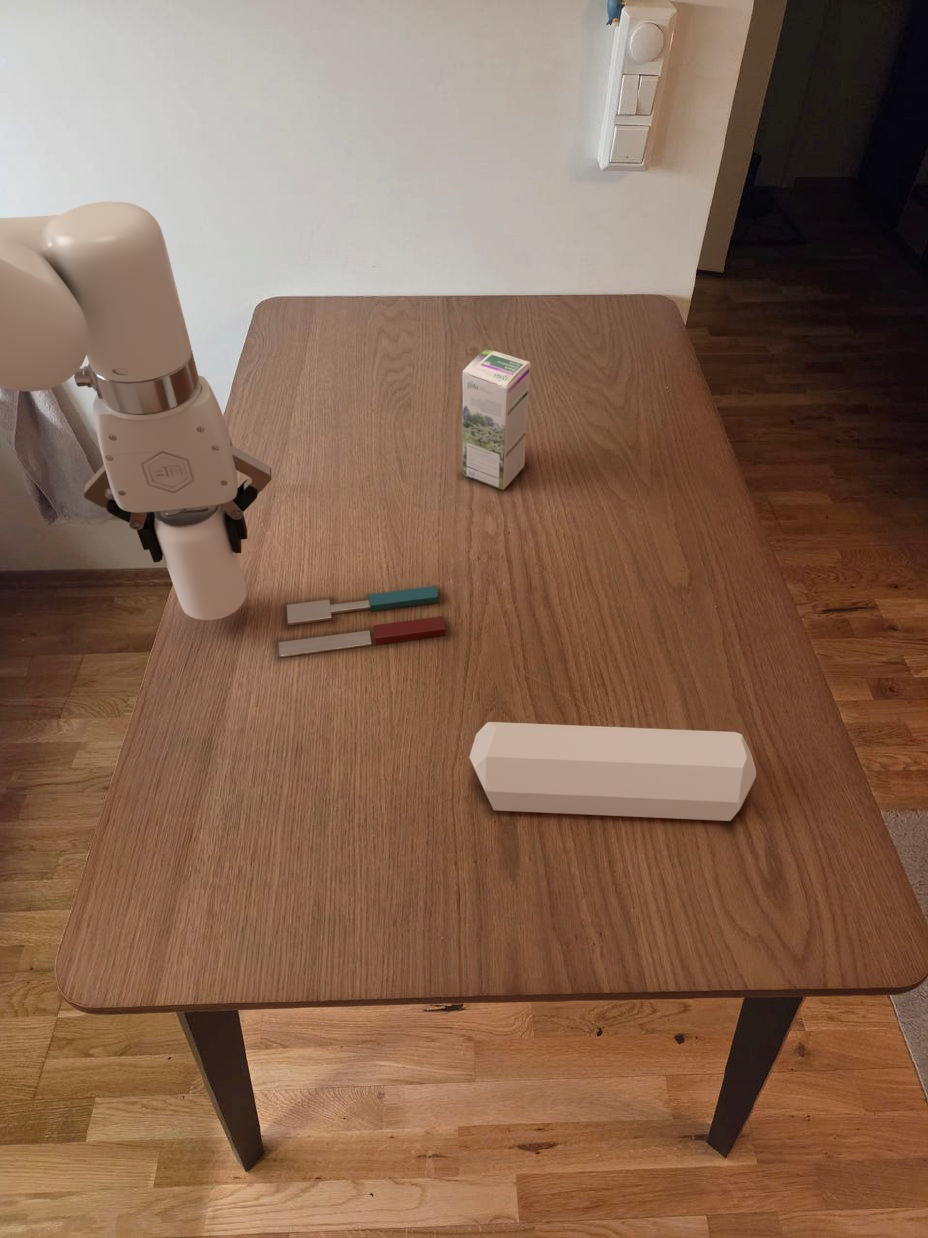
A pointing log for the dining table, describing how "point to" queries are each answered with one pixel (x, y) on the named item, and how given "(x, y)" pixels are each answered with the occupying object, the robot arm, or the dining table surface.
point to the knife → (366, 637)
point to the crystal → (613, 770)
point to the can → (201, 561)
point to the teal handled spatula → (359, 605)
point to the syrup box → (495, 417)
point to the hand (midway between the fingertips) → (198, 546)
